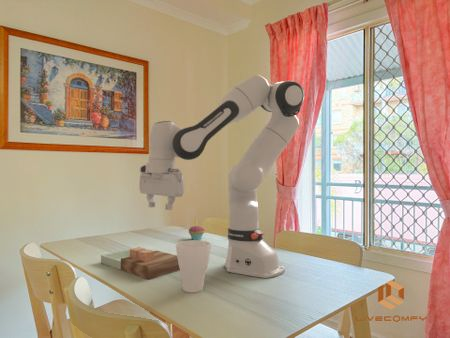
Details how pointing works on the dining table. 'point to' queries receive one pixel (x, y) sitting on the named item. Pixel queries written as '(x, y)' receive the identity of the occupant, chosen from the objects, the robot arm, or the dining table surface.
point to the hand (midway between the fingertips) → (160, 208)
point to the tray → (114, 258)
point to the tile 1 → (135, 252)
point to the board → (151, 265)
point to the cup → (193, 263)
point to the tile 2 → (146, 255)
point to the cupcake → (196, 232)
